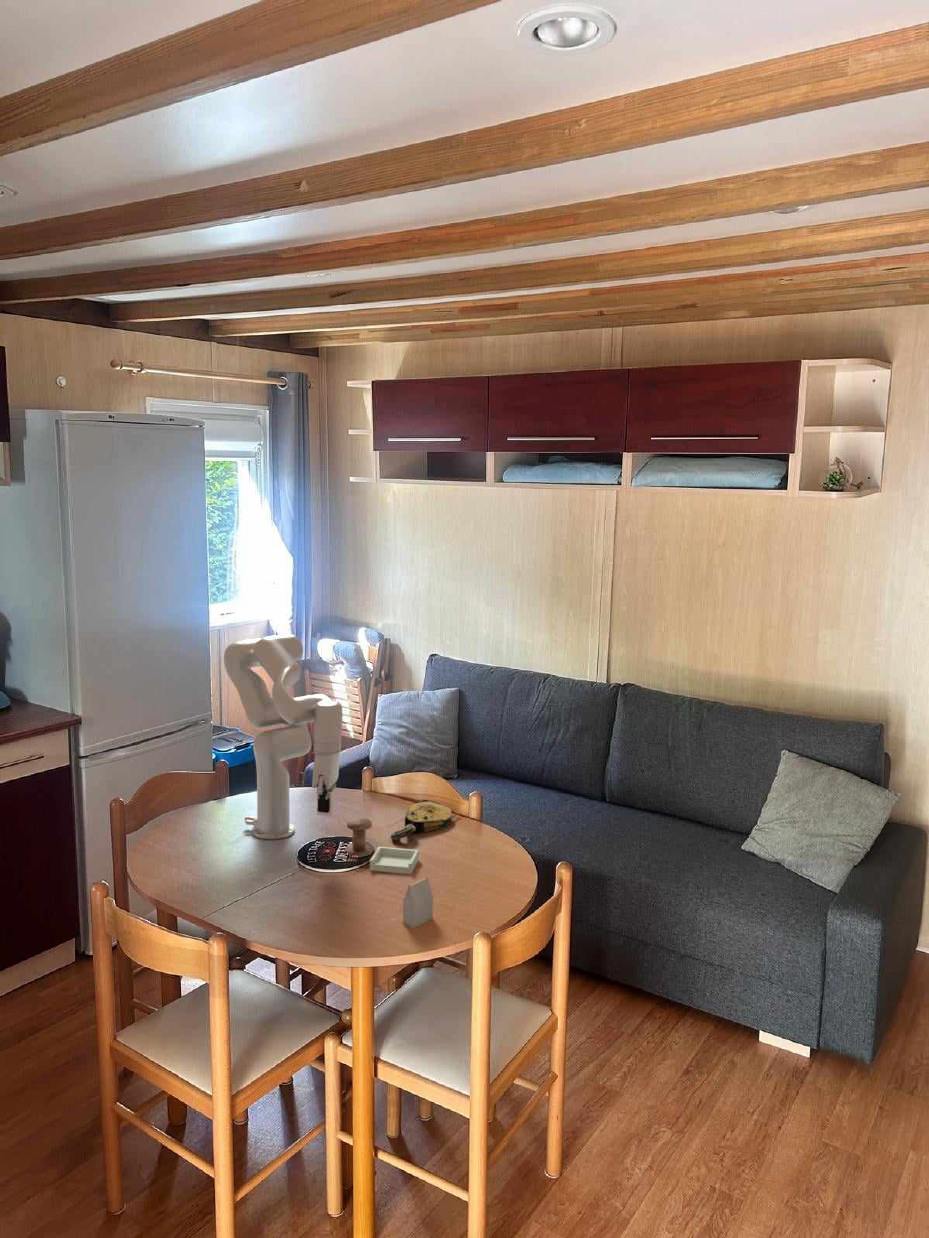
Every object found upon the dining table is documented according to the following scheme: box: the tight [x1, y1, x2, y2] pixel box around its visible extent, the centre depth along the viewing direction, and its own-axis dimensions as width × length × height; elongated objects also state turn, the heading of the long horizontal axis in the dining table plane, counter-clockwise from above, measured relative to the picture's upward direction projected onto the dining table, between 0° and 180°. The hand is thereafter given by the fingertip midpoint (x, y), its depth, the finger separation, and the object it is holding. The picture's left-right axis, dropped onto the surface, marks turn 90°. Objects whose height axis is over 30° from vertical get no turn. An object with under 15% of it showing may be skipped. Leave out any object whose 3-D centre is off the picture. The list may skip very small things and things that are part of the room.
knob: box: [344, 817, 374, 856], centre depth 271 cm, size 8×8×9 cm
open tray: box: [369, 846, 420, 875], centre depth 263 cm, size 12×10×3 cm
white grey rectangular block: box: [316, 782, 337, 817], centre depth 262 cm, size 4×4×8 cm
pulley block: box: [390, 799, 460, 842], centre depth 291 cm, size 14×6×30 cm
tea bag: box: [402, 877, 434, 928], centre depth 231 cm, size 4×7×10 cm, turn 140°
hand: (326, 808), depth 263 cm, fingers closed on white grey rectangular block, 4 cm apart
